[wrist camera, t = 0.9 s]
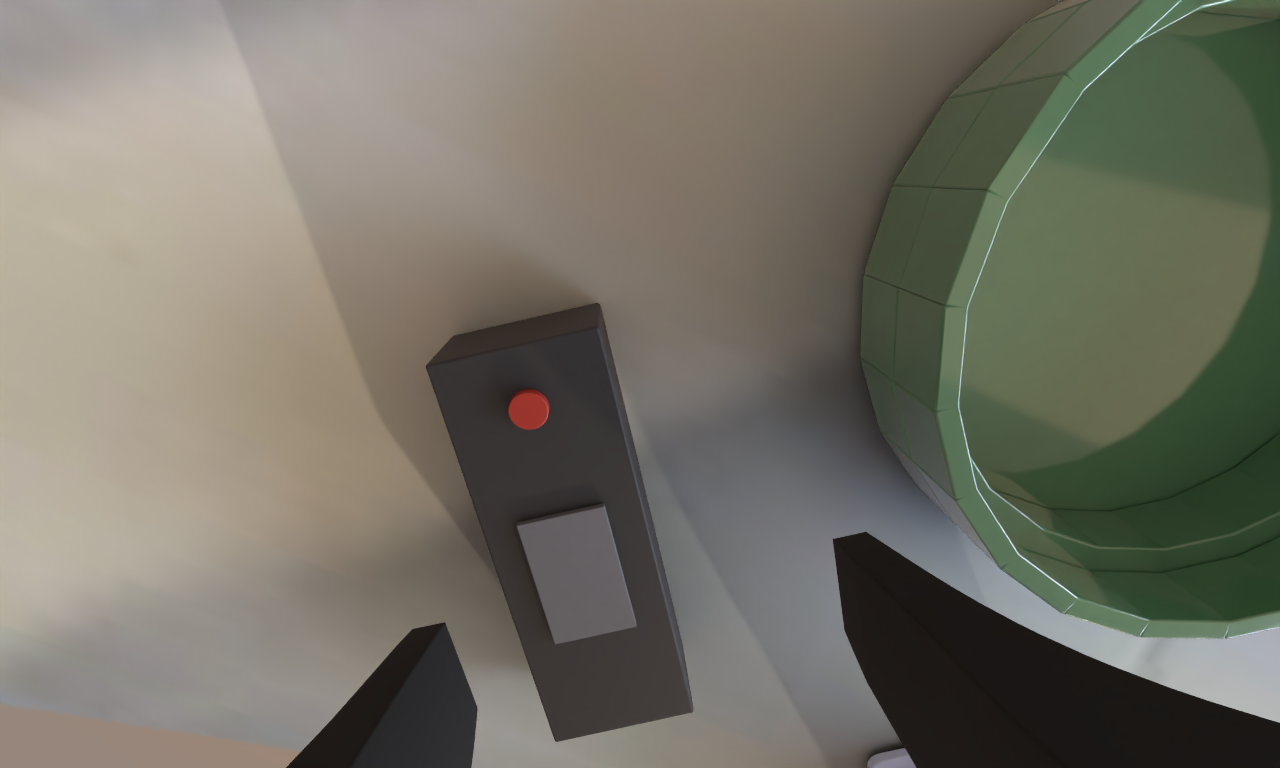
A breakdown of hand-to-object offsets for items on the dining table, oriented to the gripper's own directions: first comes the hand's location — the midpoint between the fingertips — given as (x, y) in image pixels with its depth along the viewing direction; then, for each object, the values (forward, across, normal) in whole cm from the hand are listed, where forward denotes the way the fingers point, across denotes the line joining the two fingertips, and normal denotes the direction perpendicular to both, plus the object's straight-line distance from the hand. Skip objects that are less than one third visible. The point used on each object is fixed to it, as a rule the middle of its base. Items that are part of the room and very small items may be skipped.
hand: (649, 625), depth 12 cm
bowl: (+9, -16, -1) cm, 18 cm away
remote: (+9, +2, +2) cm, 9 cm away
